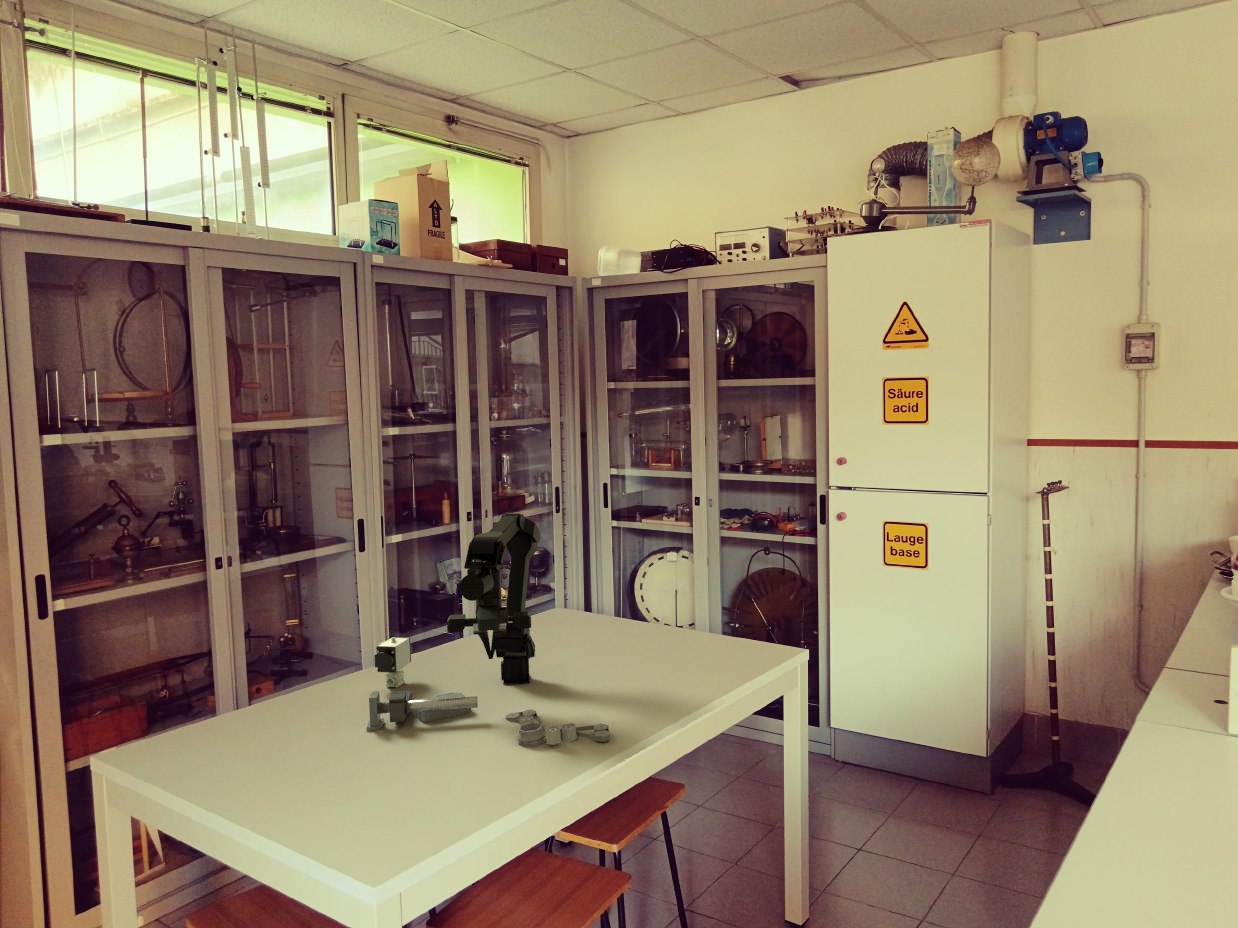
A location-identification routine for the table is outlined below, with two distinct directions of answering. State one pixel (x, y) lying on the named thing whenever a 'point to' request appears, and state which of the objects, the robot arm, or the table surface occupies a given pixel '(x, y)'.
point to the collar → (398, 705)
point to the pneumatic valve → (393, 659)
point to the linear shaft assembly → (415, 707)
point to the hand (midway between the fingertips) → (490, 658)
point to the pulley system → (552, 730)
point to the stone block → (440, 714)
